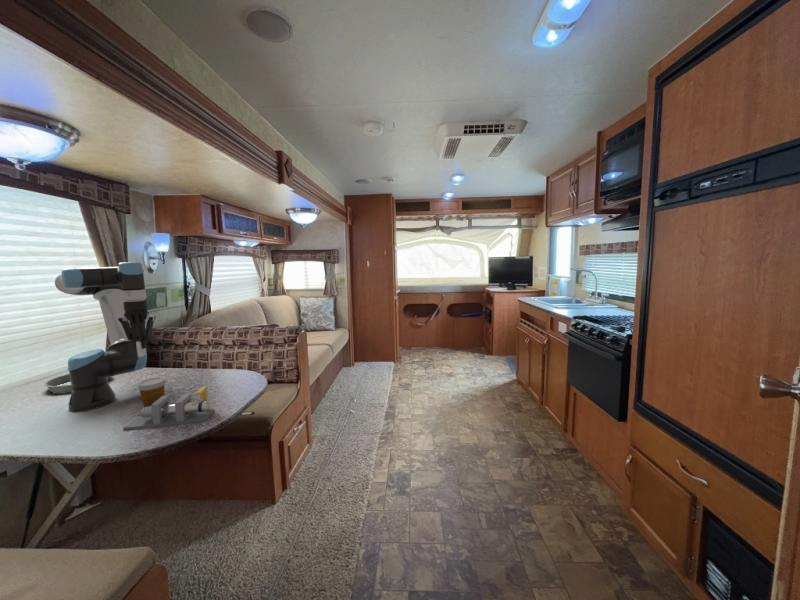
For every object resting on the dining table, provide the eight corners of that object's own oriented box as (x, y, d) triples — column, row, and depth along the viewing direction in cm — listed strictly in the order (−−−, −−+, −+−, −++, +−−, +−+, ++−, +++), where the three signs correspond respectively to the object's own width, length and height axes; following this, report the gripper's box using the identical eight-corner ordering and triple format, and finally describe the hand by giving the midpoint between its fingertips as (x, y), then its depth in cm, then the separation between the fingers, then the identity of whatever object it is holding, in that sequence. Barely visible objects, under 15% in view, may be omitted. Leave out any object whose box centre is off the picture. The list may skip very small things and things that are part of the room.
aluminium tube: (141, 420, 123) (140, 409, 123) (147, 414, 127) (146, 404, 127) (204, 413, 128) (203, 403, 127) (208, 408, 132) (207, 398, 131)
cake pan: (101, 389, 160) (100, 380, 160) (33, 399, 150) (31, 390, 150) (119, 373, 183) (118, 366, 182) (61, 381, 173) (60, 373, 172)
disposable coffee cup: (152, 403, 143) (149, 377, 141) (173, 403, 142) (170, 377, 141) (134, 413, 133) (130, 386, 132) (157, 413, 133) (153, 386, 131)
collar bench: (123, 430, 120) (119, 402, 119) (137, 418, 129) (134, 392, 128) (205, 421, 126) (203, 394, 124) (214, 410, 135) (211, 385, 133)
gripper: (110, 302, 127) (118, 359, 131) (146, 301, 129) (153, 358, 132) (123, 299, 134) (130, 354, 138) (157, 298, 136) (164, 352, 140)
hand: (141, 356), depth 135 cm, fingers closed
